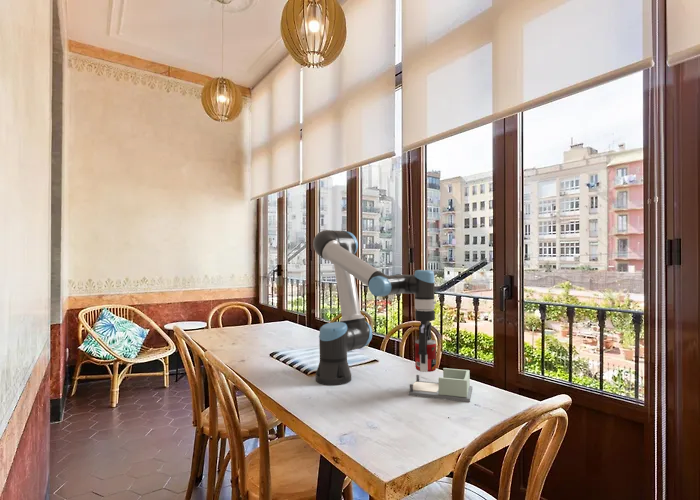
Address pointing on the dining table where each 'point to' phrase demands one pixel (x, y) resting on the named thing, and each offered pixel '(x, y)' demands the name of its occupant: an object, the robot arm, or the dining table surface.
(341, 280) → the robot arm
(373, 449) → the dining table surface
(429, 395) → the base
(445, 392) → the housing
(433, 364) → the canned food
